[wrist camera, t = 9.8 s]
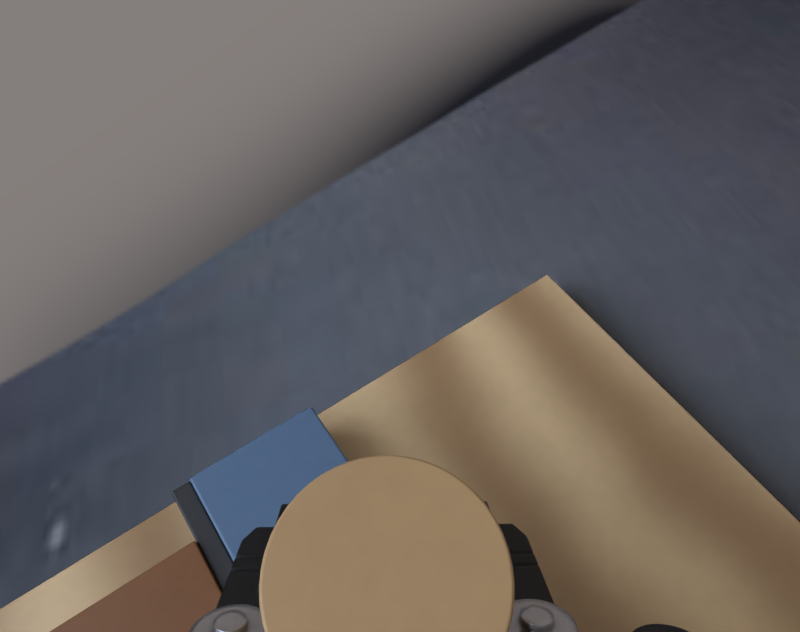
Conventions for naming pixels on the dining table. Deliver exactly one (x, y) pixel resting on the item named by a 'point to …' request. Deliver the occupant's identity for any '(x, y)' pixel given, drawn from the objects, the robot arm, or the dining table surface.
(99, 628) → the block
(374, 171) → the dining table surface
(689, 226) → the dining table surface
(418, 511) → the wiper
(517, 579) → the robot arm
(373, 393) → the cutting board
